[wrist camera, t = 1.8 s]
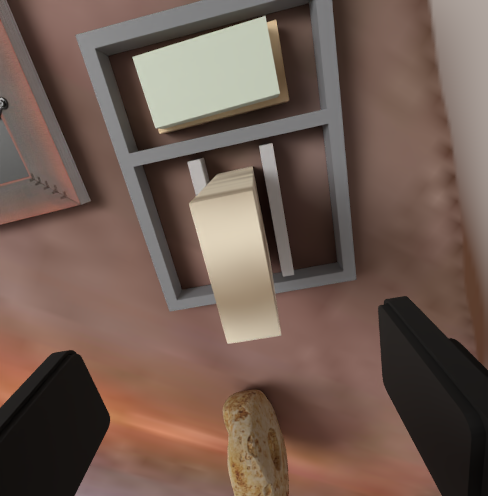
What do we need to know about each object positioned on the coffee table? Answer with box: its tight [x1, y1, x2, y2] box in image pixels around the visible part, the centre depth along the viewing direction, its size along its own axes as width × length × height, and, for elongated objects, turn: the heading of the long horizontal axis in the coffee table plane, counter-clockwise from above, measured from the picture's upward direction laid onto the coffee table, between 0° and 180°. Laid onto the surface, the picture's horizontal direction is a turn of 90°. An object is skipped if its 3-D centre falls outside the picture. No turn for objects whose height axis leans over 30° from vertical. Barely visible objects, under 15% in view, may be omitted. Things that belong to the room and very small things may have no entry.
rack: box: [76, 0, 356, 311], centre depth 24 cm, size 22×17×2 cm
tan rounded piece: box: [223, 390, 289, 496], centre depth 29 cm, size 10×4×10 cm, turn 24°
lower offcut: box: [158, 20, 289, 134], centre depth 22 cm, size 5×10×2 cm, turn 103°
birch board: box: [189, 166, 281, 344], centre depth 21 cm, size 8×3×12 cm, turn 12°
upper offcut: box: [132, 16, 280, 129], centre depth 20 cm, size 4×9×2 cm, turn 104°
